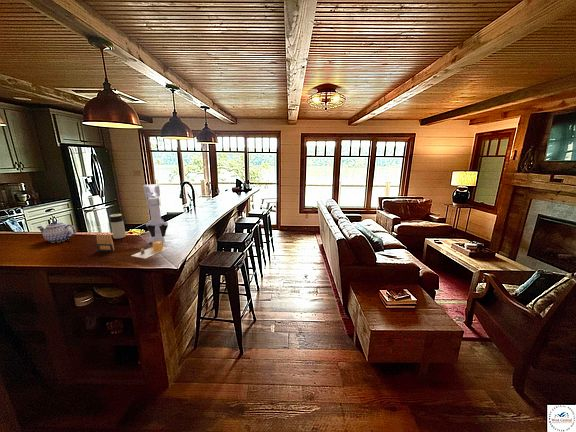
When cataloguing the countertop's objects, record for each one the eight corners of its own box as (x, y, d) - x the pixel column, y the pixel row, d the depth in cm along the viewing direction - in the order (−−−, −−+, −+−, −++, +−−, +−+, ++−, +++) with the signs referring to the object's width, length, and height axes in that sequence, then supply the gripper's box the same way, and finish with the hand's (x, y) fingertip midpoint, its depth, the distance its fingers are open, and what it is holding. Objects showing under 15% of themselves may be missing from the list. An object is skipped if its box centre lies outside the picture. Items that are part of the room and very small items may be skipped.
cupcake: (151, 250, 149) (150, 243, 148) (158, 247, 154) (157, 240, 153) (157, 251, 148) (156, 244, 147) (164, 248, 153) (163, 241, 152)
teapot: (85, 236, 178) (81, 218, 175) (68, 243, 163) (63, 224, 160) (51, 237, 177) (46, 218, 173) (31, 244, 162) (25, 224, 158)
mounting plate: (131, 257, 142) (129, 250, 141) (155, 247, 159) (154, 240, 157) (145, 260, 138) (144, 253, 137) (169, 249, 155) (168, 242, 154)
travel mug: (127, 235, 183) (124, 213, 178) (122, 238, 175) (118, 216, 170) (117, 235, 181) (112, 213, 177) (111, 239, 174) (106, 216, 169)
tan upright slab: (115, 250, 153) (112, 233, 150) (113, 251, 151) (109, 234, 148) (100, 249, 154) (96, 233, 151) (98, 251, 152) (94, 234, 149)
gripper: (141, 217, 145) (144, 238, 146) (161, 216, 142) (163, 237, 144) (149, 215, 152) (152, 235, 153) (168, 214, 149) (171, 235, 151)
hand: (158, 236), depth 149 cm, fingers open, 7 cm apart
